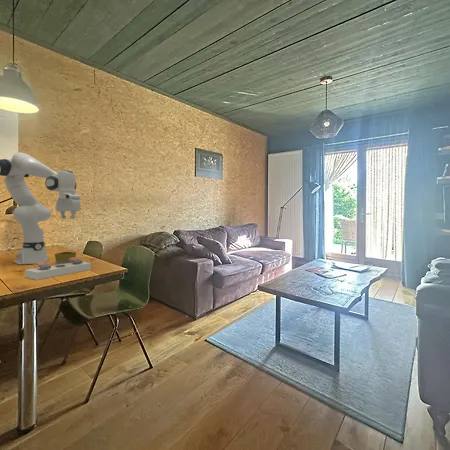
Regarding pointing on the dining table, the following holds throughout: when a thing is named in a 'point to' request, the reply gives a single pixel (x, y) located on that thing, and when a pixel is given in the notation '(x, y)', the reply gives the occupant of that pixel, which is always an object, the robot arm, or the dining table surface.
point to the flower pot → (64, 256)
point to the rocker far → (75, 260)
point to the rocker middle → (60, 262)
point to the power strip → (56, 270)
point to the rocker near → (42, 265)
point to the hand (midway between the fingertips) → (67, 218)
